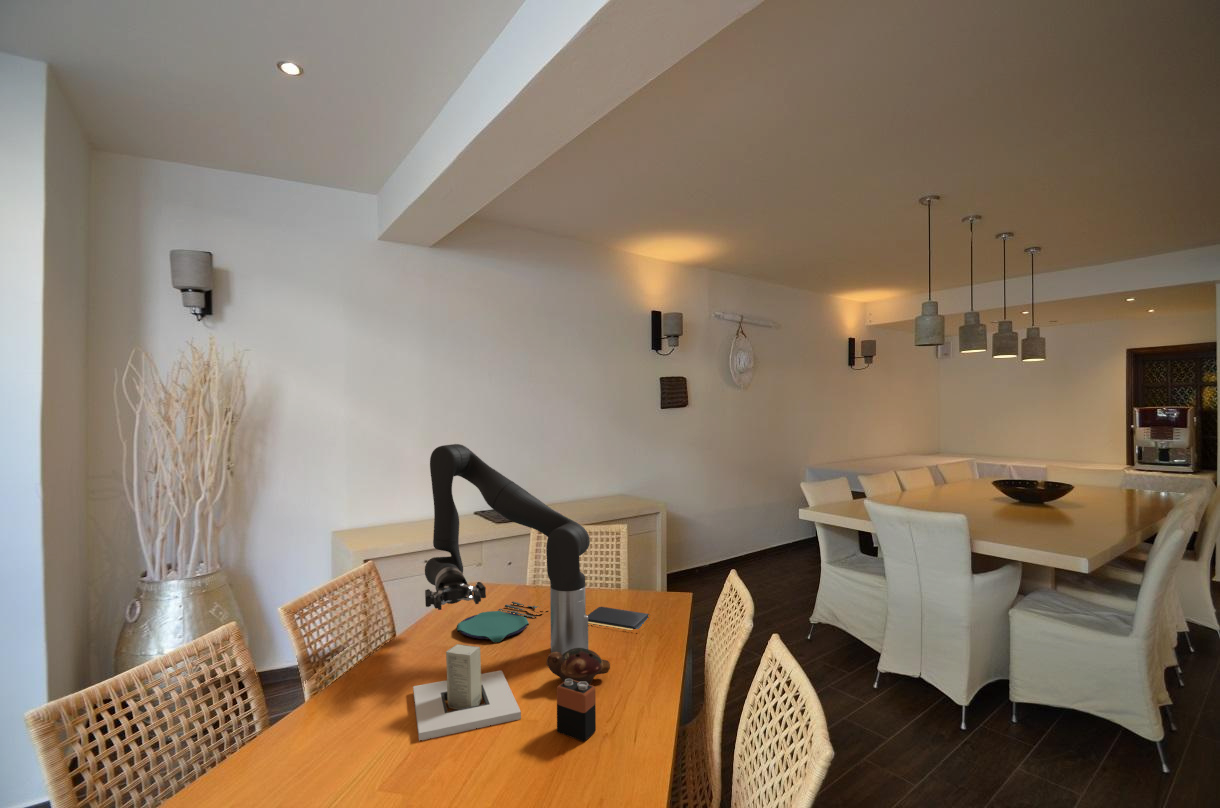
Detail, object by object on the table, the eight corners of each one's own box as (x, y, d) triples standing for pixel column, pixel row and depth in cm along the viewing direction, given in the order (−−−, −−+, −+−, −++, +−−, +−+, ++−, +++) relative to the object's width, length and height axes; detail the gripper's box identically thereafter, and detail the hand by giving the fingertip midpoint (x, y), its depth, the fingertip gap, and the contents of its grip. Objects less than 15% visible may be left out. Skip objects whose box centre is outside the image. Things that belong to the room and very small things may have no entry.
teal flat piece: (442, 635, 160) (442, 627, 160) (509, 604, 187) (509, 597, 187) (498, 650, 151) (498, 641, 151) (559, 615, 177) (559, 608, 178)
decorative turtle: (540, 680, 133) (541, 645, 134) (600, 673, 139) (601, 639, 140) (552, 697, 124) (553, 660, 125) (615, 689, 130) (616, 653, 131)
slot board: (501, 676, 135) (501, 670, 135) (520, 718, 117) (520, 711, 117) (413, 693, 128) (413, 686, 128) (418, 741, 109) (418, 733, 109)
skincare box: (482, 702, 123) (482, 646, 123) (470, 713, 119) (470, 655, 119) (457, 698, 125) (457, 643, 125) (445, 708, 121) (445, 651, 121)
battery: (584, 743, 108) (584, 690, 108) (555, 732, 112) (555, 682, 112) (596, 732, 112) (596, 681, 112) (568, 722, 115) (568, 673, 115)
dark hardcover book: (656, 613, 173) (636, 630, 159) (656, 619, 173) (636, 637, 159) (598, 603, 182) (575, 619, 168) (598, 609, 182) (575, 625, 168)
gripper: (421, 573, 145) (426, 591, 130) (478, 566, 150) (488, 582, 135) (422, 603, 145) (427, 624, 130) (478, 594, 150) (489, 613, 135)
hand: (458, 602), depth 132 cm, fingers open, 8 cm apart
